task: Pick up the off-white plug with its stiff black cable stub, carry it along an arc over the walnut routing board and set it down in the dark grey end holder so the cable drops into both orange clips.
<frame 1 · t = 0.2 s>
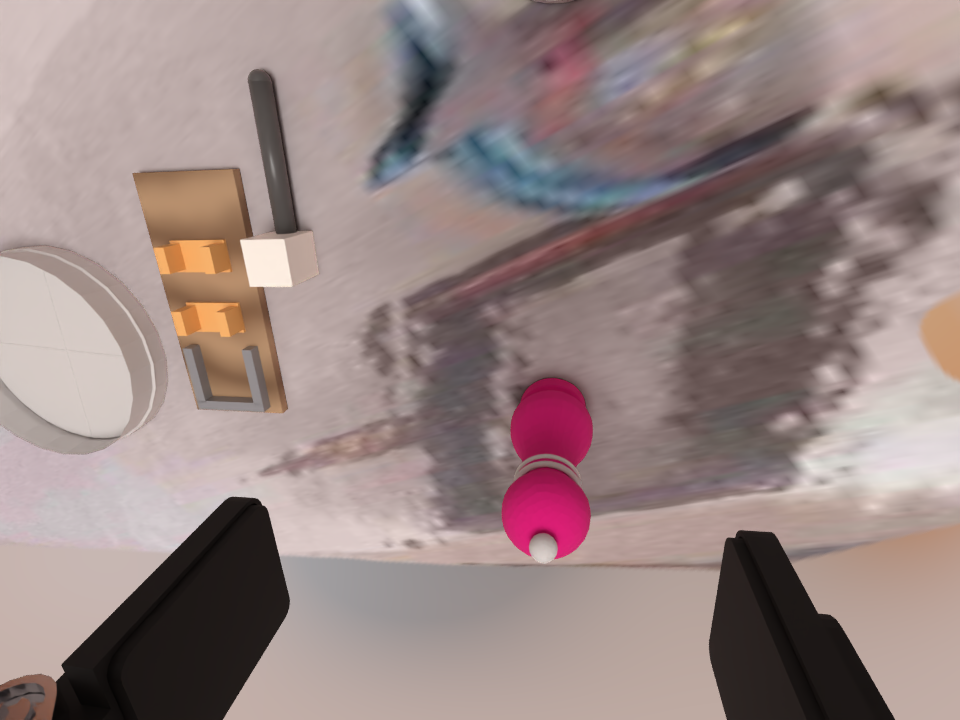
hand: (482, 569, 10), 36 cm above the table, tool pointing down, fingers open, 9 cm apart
pepper mill: (552, 405, 49), on the table
route board: (219, 299, 50), on the table
dish: (79, 345, 56), on the table
clip b: (202, 255, 48), resting on route board
end holder: (230, 372, 52), resting on route board
clip a: (216, 316, 50), resting on route board
connector: (295, 252, 47), on the table
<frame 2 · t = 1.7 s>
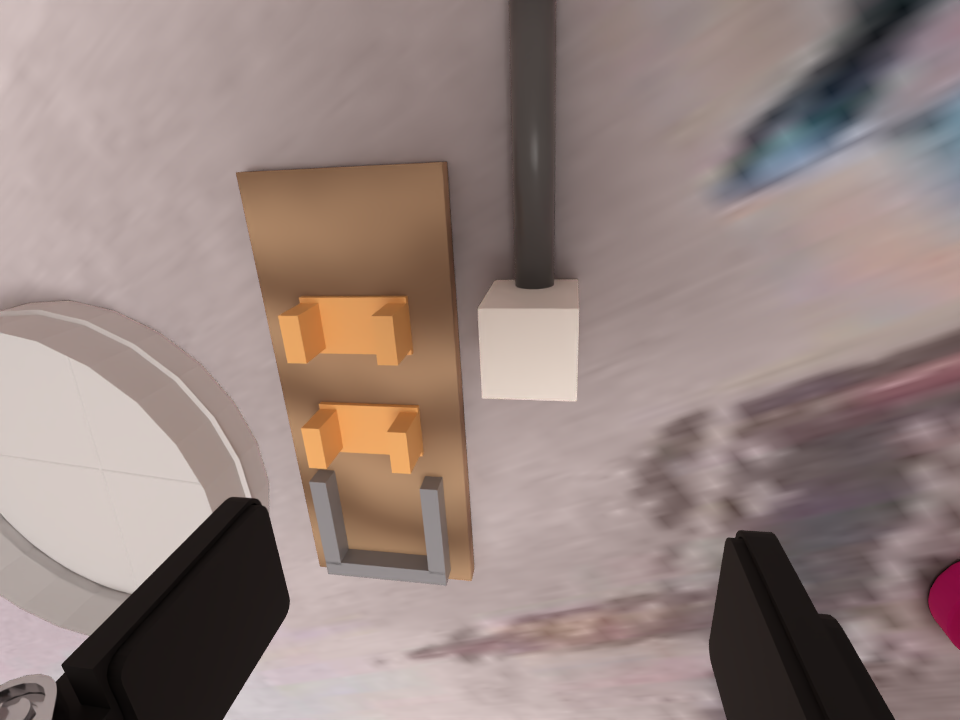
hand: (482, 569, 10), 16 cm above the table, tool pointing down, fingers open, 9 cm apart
route board: (375, 395, 28), on the table
dish: (121, 456, 34), on the table
clip b: (357, 324, 26), resting on route board
end holder: (385, 515, 30), resting on route board
clip a: (372, 427, 28), resting on route board
connector: (536, 319, 25), on the table
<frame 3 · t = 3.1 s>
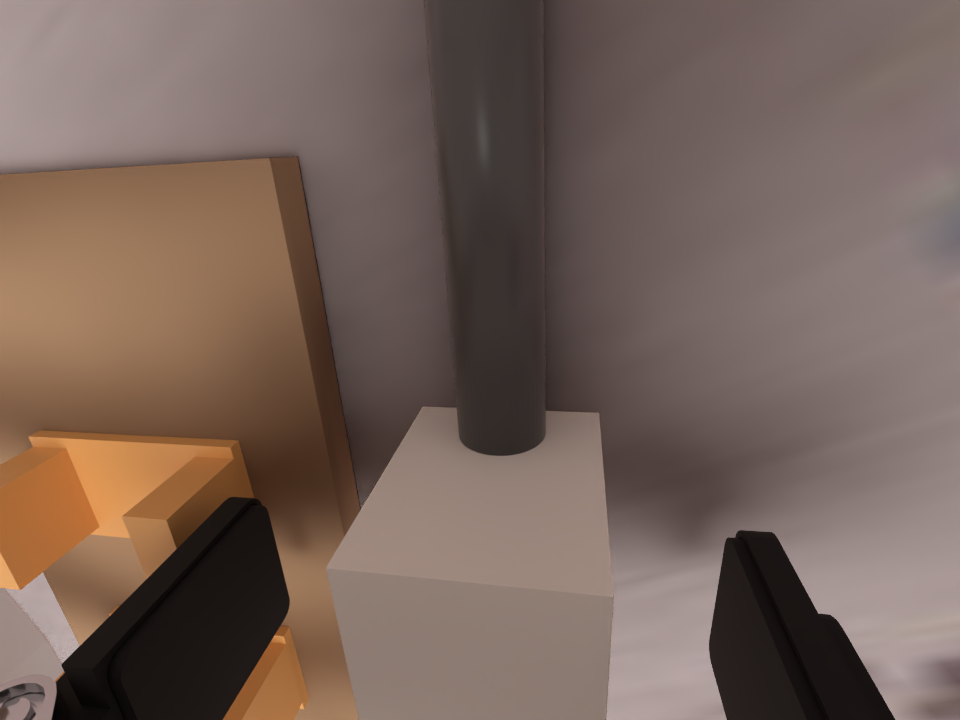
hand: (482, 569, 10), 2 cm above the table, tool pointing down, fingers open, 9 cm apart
route board: (222, 588, 15), on the table
clip b: (153, 486, 13), resting on route board
clip a: (213, 652, 15), resting on route board
connector: (510, 483, 12), on the table
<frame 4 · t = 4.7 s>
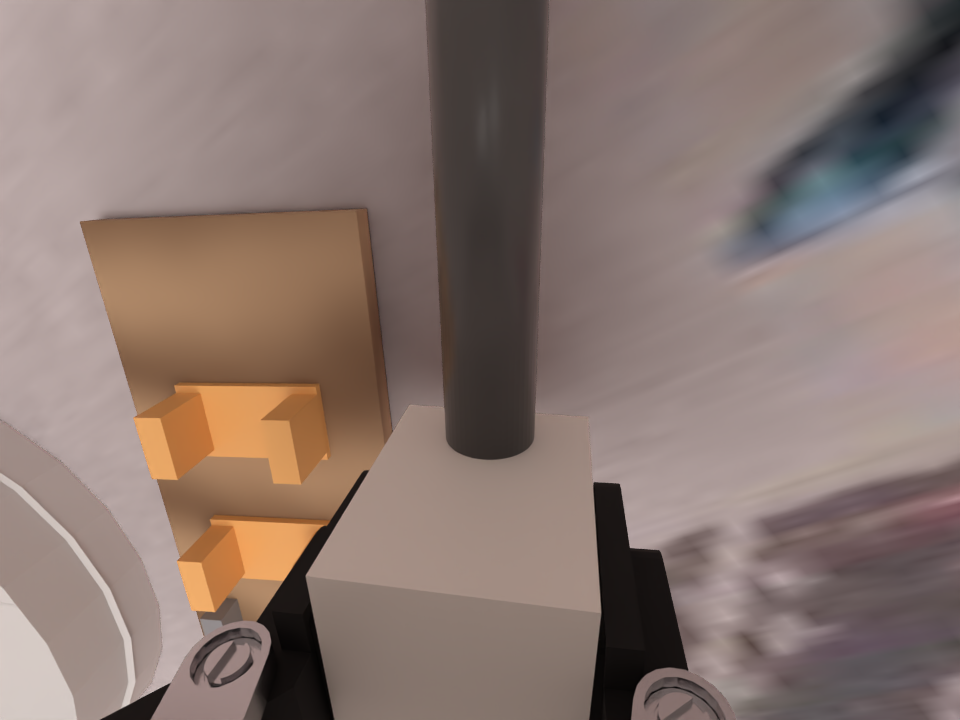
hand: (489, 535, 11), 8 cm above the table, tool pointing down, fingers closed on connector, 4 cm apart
route board: (288, 503, 22), on the table
clip b: (255, 419, 19), resting on route board
end holder: (305, 653, 23), resting on route board
clip a: (283, 547, 21), resting on route board
connector: (496, 484, 12), point 7 cm above the table, touching gripper
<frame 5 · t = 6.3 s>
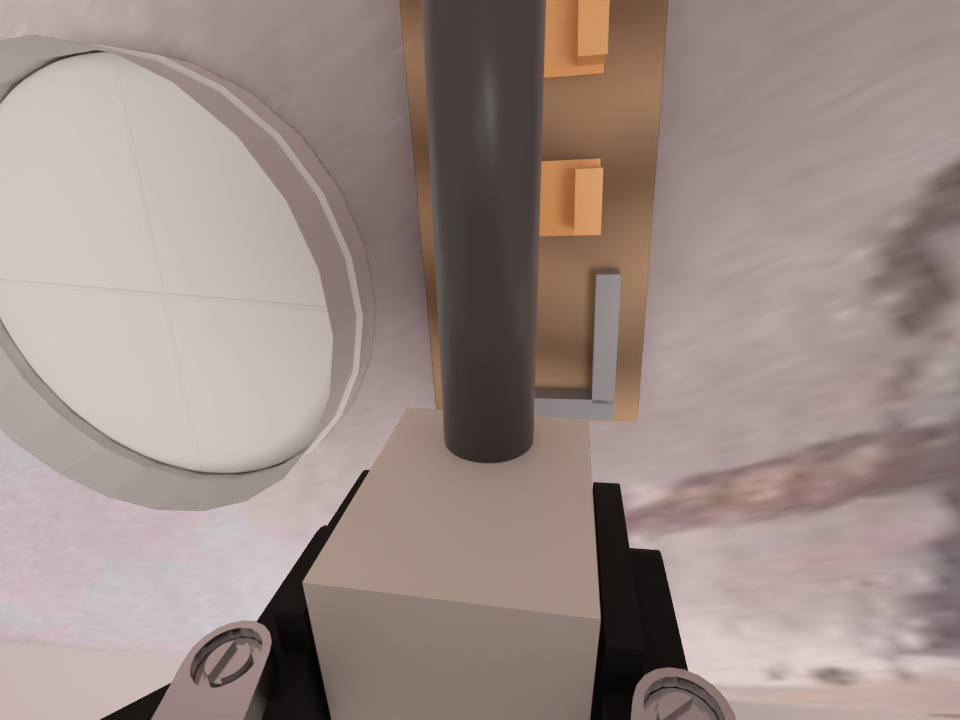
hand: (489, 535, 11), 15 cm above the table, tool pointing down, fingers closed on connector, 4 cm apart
route board: (532, 161, 22), on the table
dish: (185, 287, 28), on the table
clip b: (529, 35, 19), resting on route board
end holder: (532, 333, 24), resting on route board
clip a: (531, 199, 22), resting on route board
connector: (495, 487, 12), point 14 cm above the table, touching gripper
when the fingers open (3 cm above the table, at t = 8.7 s): connector stays where it is, resting on clip a, route board.
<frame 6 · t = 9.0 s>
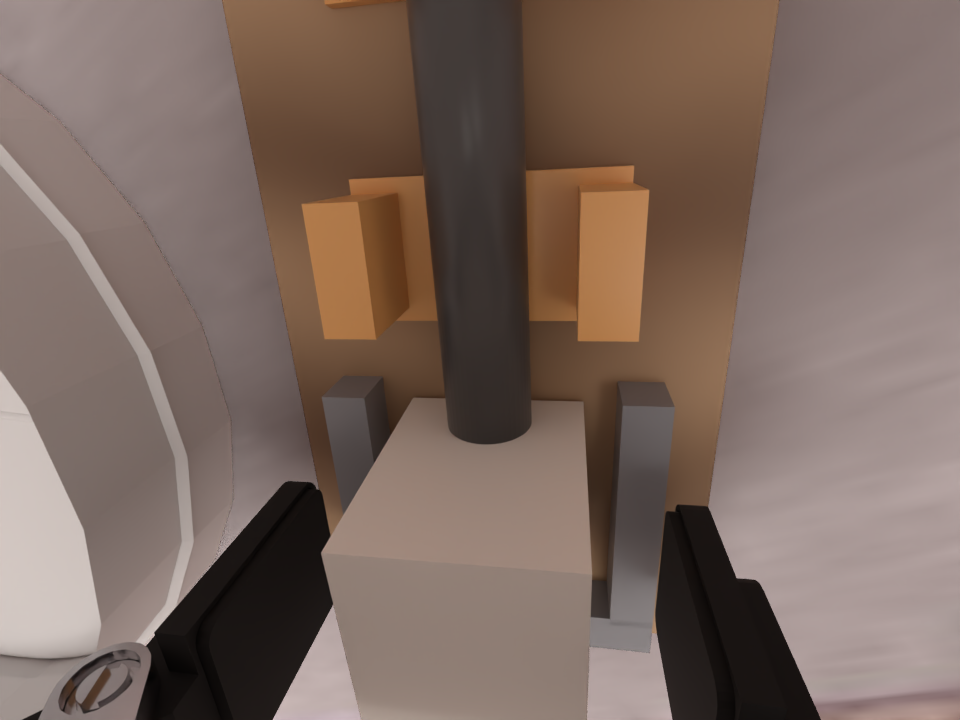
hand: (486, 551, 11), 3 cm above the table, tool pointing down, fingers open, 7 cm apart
route board: (493, 170, 11), on the table
end holder: (500, 486, 13), resting on route board
clip a: (490, 248, 11), resting on route board
connector: (499, 470, 13), point 1 cm above the table, touching clip a, route board
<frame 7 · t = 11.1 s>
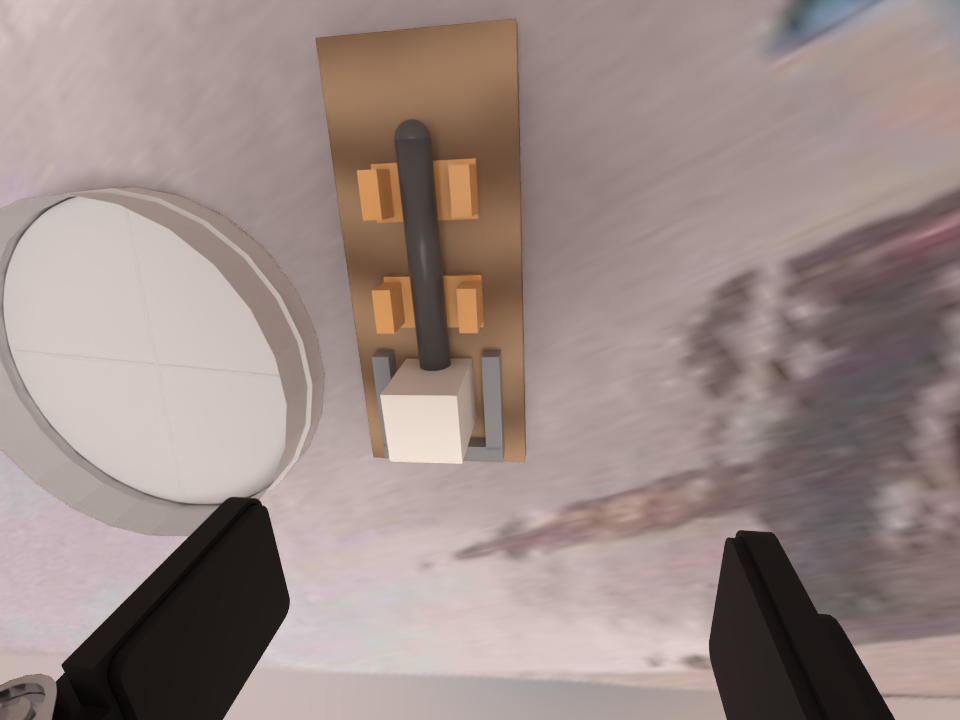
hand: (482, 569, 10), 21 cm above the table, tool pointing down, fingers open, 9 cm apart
route board: (436, 271, 30), on the table
dish: (174, 356, 35), on the table
clip b: (425, 191, 27), resting on route board
end holder: (442, 396, 31), resting on route board
clip a: (434, 301, 29), resting on route board
connector: (441, 388, 31), point 1 cm above the table, touching clip a, route board
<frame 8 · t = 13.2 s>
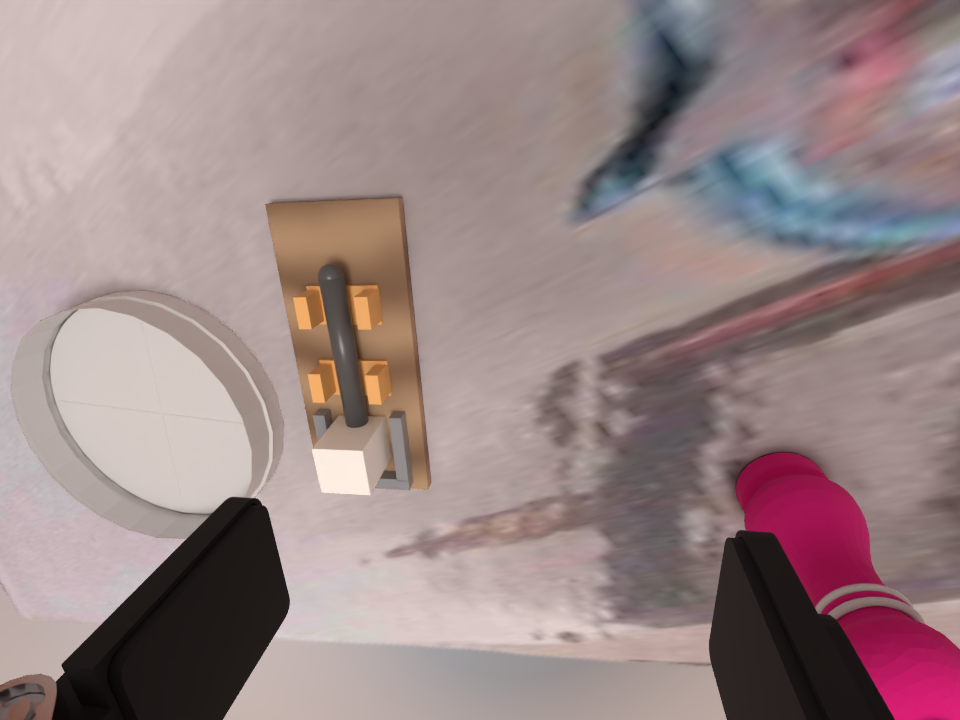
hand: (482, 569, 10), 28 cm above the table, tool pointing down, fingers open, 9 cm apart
pepper mill: (777, 484, 40), on the table
route board: (358, 354, 41), on the table
dish: (174, 405, 47), on the table
clip b: (345, 304, 39), resting on route board
end holder: (366, 441, 43), resting on route board
clip a: (356, 376, 41), resting on route board
connector: (365, 436, 43), point 1 cm above the table, touching clip a, route board
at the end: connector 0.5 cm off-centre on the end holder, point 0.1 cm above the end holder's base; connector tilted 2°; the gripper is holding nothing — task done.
